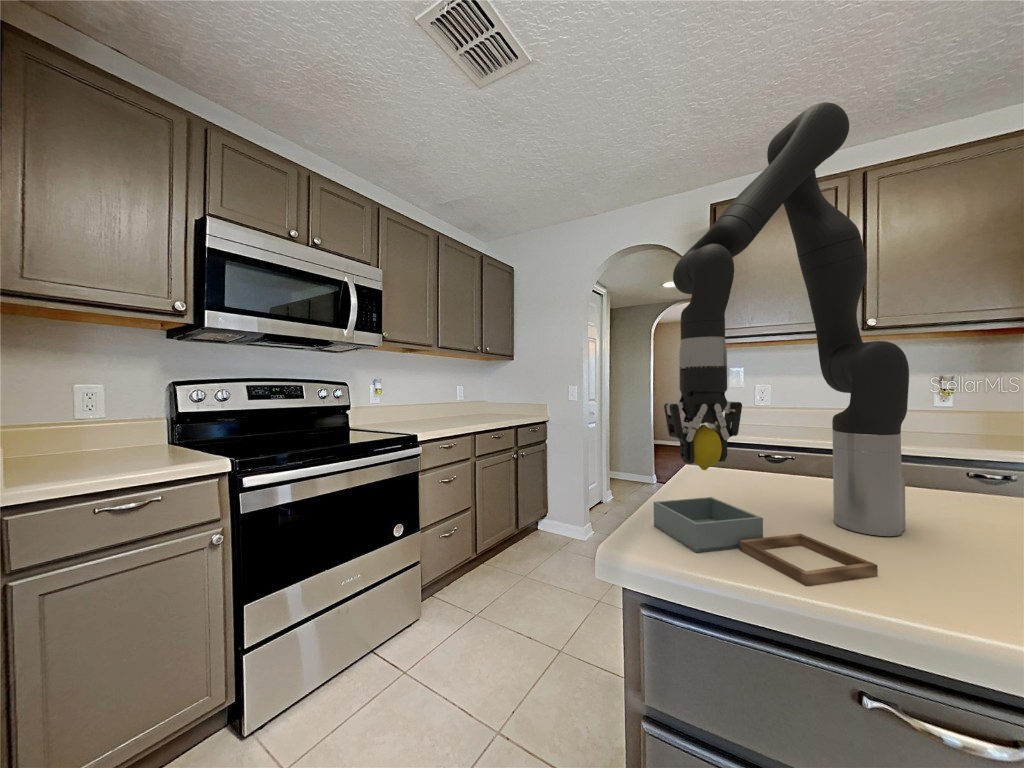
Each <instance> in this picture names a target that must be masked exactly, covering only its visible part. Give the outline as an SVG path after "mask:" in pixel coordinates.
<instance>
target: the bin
mask: <svg viewBox="0 0 1024 768" xmlns="http://www.w3.org/2000/svg"><path fill="white" fill-rule="evenodd" d="M653 527H655V528H656V529H658V530H660V531H661V532H663V533H664V534H666V535H668V536H669V537H671V538H672V539H674V540H675V539H676V540H675V541H677V542H678V541H679V542H678V543H680V544H681V543H682V545H683V546H684V547H686V548H688V549H689V548H690V550H691V551H692V550H693V552H694V553H695V554H699V553H700V554H701V553H702V554H703V553H708V552H718V551H726V550H728V551H729V550H736V549H739V540H747V539H756V538H764V518H763V517H762V516H759V515H756V514H755V513H752V512H749V511H748V510H744V509H743V508H739V507H737V506H734V505H732V504H730V503H727V502H725V501H722V500H720V499H717V498H715V497H712V496H709V497H708V496H707V497H696V498H695V497H693V498H685V499H672V500H671V499H669V500H659V501H653Z"/></svg>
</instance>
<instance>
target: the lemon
mask: <svg viewBox="0 0 1024 768" xmlns="http://www.w3.org/2000/svg"><path fill="white" fill-rule="evenodd" d="M691 442H694V463H693V465H696V466H698V467H699V469H701V470H702V471H708V469H709V468H710V467H713V466H715V465H716V464H718V463H719V462H720V461H719V459H720V457H721V453H722V445H721V440H720V437H719V435H718V434H717V433H716V432H715V431H714V430H713V429H711V428H710V427H709V426H708V425H706V424H700V427H699V429H698V430H696V432H695V435H694V437H693V440H692V441H691Z"/></svg>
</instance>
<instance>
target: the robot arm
mask: <svg viewBox="0 0 1024 768" xmlns="http://www.w3.org/2000/svg"><path fill="white" fill-rule="evenodd" d="M849 131H850V120H849V116H848V115H847V112H846V111H845V110H844V109H843V107H841V106H840V105H838V104H836V103H834V102H828V101H827V102H819V103H816V104H814V105H810V106H809V107H808V108H807V109H805V110H804V111H802V112H801V113H799V114H798V115H797V116H796V117H795V118H793V119H792V120H791V121H790V122H789V123H788V124H787V125H785V127H783V128H782V129H781V130H779V132H778V133H776V135H775V136H773V138H772V139H771V140H770V142H769V144H768V147H767V151H766V153H767V155H766V156H767V157H766V158H767V164H768V166H766V168H765V169H764V170H763V171H762V172H761V173H759V175H758V176H757V177H756V178H755V179H754V180H752V182H750V183H749V184H748V185H747V186H746V187H745V188H744V189H743V190H742V191H741V192H740V193H739V194H738V195H737V197H736V198H734V199H733V201H732V202H731V203H729V204H728V206H727V207H726V209H724V210H723V212H722V213H721V214H720V216H719V217H718V218H717V219H716V221H714V222H713V224H712V226H711V228H710V229H708V231H707V232H706V233H705V234H704V235H702V237H701V238H699V239H698V241H697V242H696V243H694V244H693V246H691V247H690V248H689V249H688V250H687V251H686V252H685V253H684V255H682V256H681V257H680V258H679V260H678V261H677V263H676V265H675V267H674V268H673V272H672V273H673V274H672V280H673V285H674V286H675V288H676V289H677V290H678V291H679V292H681V293H683V294H686V295H691V298H690V301H689V303H688V304H687V306H685V308H683V309H682V311H681V314H680V343H679V344H680V347H679V352H678V353H679V355H678V357H679V358H678V359H679V362H678V363H679V371H678V372H679V391H680V393H681V395H680V399H679V401H677V402H673V403H667V402H666V403H664V405H663V409H664V414H665V420H666V426H667V431H668V435H669V437H672V438H675V439H677V440H679V446H680V447H679V453H680V454H679V457H680V459H681V460H682V462H683V463H685V464H688V465H690V464H693V465H694V442H691V441H692V440H693V437H694V435H695V432H696V430H698V429H699V427H700V426H701V425H705V424H707V425H706V426H707V427H709V428H711V429H713V430H714V431H715V432H716V433H717V434H718V435H719V437H720V440H721V445H722V453H721V457H720V459H719V461H718V462H720V463H721V462H726V459H727V457H728V440H729V439H730V438H731V437H737V436H738V435H739V431H740V423H741V415H742V409H743V403H742V402H739V401H728V400H727V397H726V395H725V394H726V392H727V391H728V349H727V342H726V317H725V316H726V310H727V306H728V303H729V300H730V297H731V292H732V287H733V283H734V277H735V262H734V259H733V258H735V257H737V256H738V255H739V254H741V253H742V252H744V251H745V249H747V248H748V247H749V246H750V245H751V243H752V242H753V241H754V239H755V238H757V236H758V235H759V233H760V232H761V231H762V230H763V229H764V227H766V224H767V223H768V222H769V221H770V220H771V218H772V217H773V216H774V214H776V213H777V211H778V210H779V209H780V207H781V206H782V205H783V206H784V210H785V212H786V216H787V219H788V224H789V227H790V230H791V232H792V233H791V234H792V237H793V239H794V240H793V241H794V245H795V248H796V249H795V250H796V254H797V259H798V262H799V263H798V264H799V266H800V267H799V268H800V271H801V275H802V278H803V281H804V284H805V288H806V292H807V296H808V300H809V304H810V308H811V309H810V310H811V314H812V317H813V323H814V327H815V334H816V342H817V343H816V344H817V350H818V359H819V366H820V371H821V374H822V377H823V379H824V381H825V382H826V384H827V385H828V386H829V387H830V388H831V389H833V390H835V391H836V392H839V393H844V394H846V393H847V394H850V395H849V396H850V397H849V398H850V399H849V404H848V406H847V407H846V408H845V409H844V410H842V411H840V412H838V413H836V414H834V415H833V417H832V421H831V424H832V425H831V426H832V480H833V481H832V484H833V486H832V487H833V489H832V494H833V498H832V499H833V522H834V524H835V525H837V526H838V527H841V528H843V529H846V530H849V531H853V532H856V533H860V534H865V535H871V536H881V537H897V536H900V535H902V534H903V531H906V529H907V528H906V525H907V524H906V477H904V475H902V434H901V433H902V424H903V422H904V420H905V418H906V416H907V412H908V403H909V401H908V400H909V386H910V385H909V384H910V367H909V362H908V358H907V355H906V354H905V352H904V351H903V349H902V348H900V346H899V345H897V344H895V343H892V342H890V341H887V340H886V341H884V340H876V341H875V340H873V341H865V342H863V339H862V336H861V333H860V327H859V324H858V323H859V322H858V306H859V302H860V301H859V300H860V298H861V295H862V292H863V288H864V286H865V281H866V277H867V273H868V272H867V271H868V261H867V255H866V251H865V247H864V243H863V240H862V236H861V233H860V230H859V228H858V227H857V225H856V224H855V223H854V222H853V220H851V219H850V217H848V216H847V215H846V214H845V213H843V212H842V211H841V210H839V209H838V208H836V206H834V205H833V204H831V203H830V202H829V201H828V200H827V199H826V198H825V196H824V194H823V192H822V191H821V188H820V185H819V182H818V179H817V174H816V169H817V168H818V167H819V166H820V165H821V164H823V163H824V162H825V161H826V160H828V159H829V158H830V157H832V156H833V155H834V154H835V153H836V152H837V151H838V150H840V149H841V147H842V146H843V144H844V143H845V141H846V139H847V137H848V135H849ZM682 413H683V414H684V415H683V416H682V419H681V414H682ZM723 414H724V415H723Z"/></svg>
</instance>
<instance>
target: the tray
mask: <svg viewBox="0 0 1024 768" xmlns="http://www.w3.org/2000/svg"><path fill="white" fill-rule="evenodd" d="M797 546H802V547H804V548H807V549H809V550H811V551H814V552H816V553H818V554H821V555H823V556H825V557H827V558H830V559H832V560H834V561H836V562H839V563H840V564H843V565H842V566H835V567H825V568H819V569H817V568H816V569H813V570H812V569H811V570H805V569H803V568H801V567H799V566H797V565H795V564H793V563H791V562H789V561H788V560H785V559H784V558H781V557H779V556H777V555H774V554H773V553H770V552H769V551H767V550H769V549H778V548H788V547H797ZM738 550H739V551H741V552H743V553H744V554H746V555H749V556H750V557H751V558H753V559H756V560H757V561H759V562H762V563H763V564H765V565H767V566H769V567H771V568H772V569H775V570H776V571H778V572H780V573H782V574H784V575H785V576H787V577H789V578H791V579H793V580H795V581H797V582H798V583H800V584H802V585H804V586H806V587H807V586H808V587H809V586H815V585H817V586H818V585H822V584H824V585H825V584H829V583H835V582H843V581H844V582H845V581H850V580H858V579H865V578H872V577H878V564H877V563H874V562H871V561H869V560H866V559H864V558H861V557H859V556H856V555H854V554H852V553H849V552H846V551H844V550H842V549H840V548H837V547H835V546H831V545H829V544H827V543H825V542H822V541H820V540H817V539H815V538H813V537H810V536H807V535H804V534H803V533H795V534H785V535H776V536H769V537H768V536H767V537H763V538H756V539H747V540H739V548H738Z"/></svg>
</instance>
